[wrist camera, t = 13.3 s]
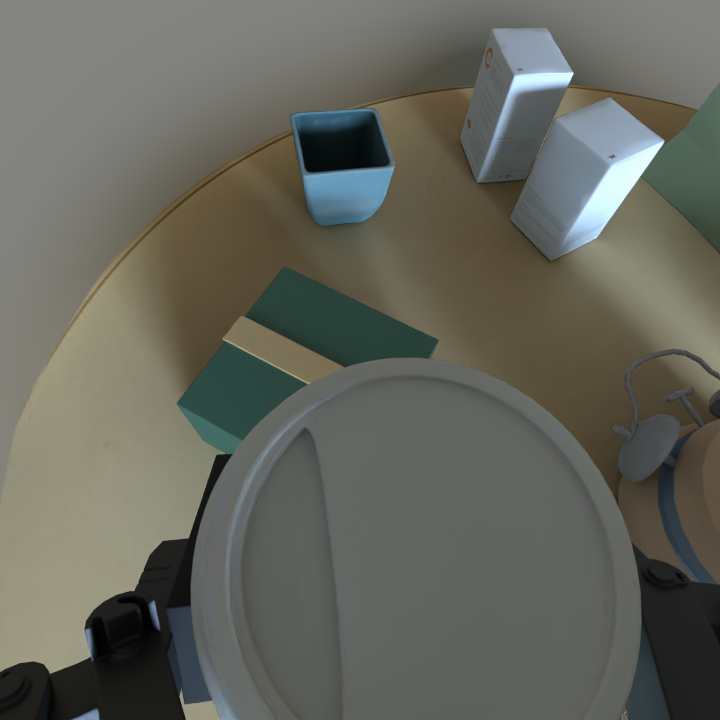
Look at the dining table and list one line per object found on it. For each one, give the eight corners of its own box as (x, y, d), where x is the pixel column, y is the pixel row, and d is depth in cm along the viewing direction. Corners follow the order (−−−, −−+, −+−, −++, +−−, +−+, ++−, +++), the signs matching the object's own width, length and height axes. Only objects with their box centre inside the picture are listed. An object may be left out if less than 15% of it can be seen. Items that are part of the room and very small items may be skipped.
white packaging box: (598, 239, 54) (669, 141, 42) (549, 263, 52) (610, 167, 40) (554, 196, 56) (611, 94, 45) (506, 217, 54) (553, 116, 43)
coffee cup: (319, 443, 21) (313, 276, 11) (502, 528, 20) (701, 435, 9) (214, 648, 17) (40, 706, 7) (432, 767, 16) (636, 1065, 6)
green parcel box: (200, 438, 40) (172, 400, 33) (288, 317, 46) (281, 262, 39) (350, 524, 38) (355, 503, 31) (422, 384, 44) (442, 339, 37)
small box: (526, 181, 57) (576, 73, 46) (475, 184, 56) (513, 75, 45) (506, 135, 61) (548, 25, 49) (458, 138, 60) (489, 27, 49)
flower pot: (386, 234, 52) (396, 166, 44) (305, 243, 51) (301, 175, 43) (369, 177, 56) (376, 106, 48) (294, 184, 55) (288, 112, 47)
